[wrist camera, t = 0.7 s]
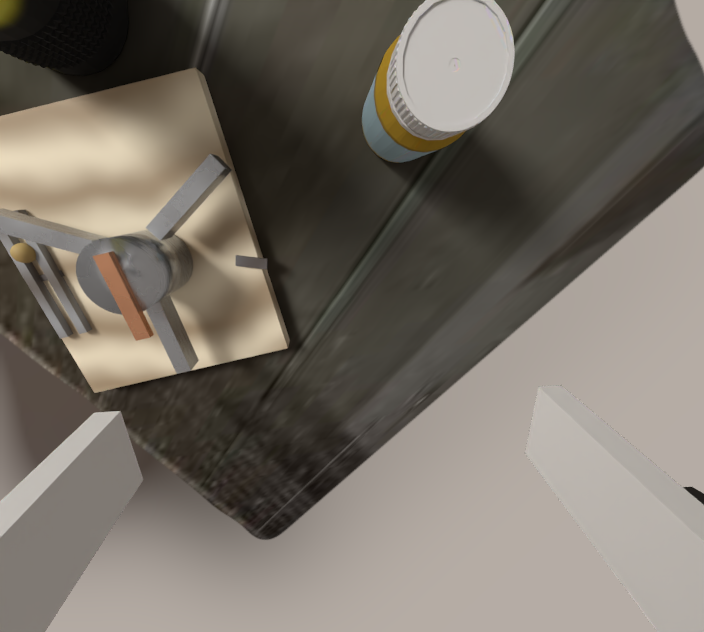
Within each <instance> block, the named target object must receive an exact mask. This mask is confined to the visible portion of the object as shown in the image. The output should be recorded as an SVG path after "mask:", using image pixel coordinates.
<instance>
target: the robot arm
mask: <svg viewBox="0 0 704 632" xmlns="http://www.w3.org/2000/svg"><path fill="white" fill-rule="evenodd" d="M525 454H526V456H527V457H528V458H529V460H530V461H531V462H532V464H533V465H534V466H535V468H536V469H537V470H538V472H539V473H540V474H541V476H542V477H543V478H544V480H545V481H546V482H547V484H548V485H549V487H550V488H551V489H552V491H553V492H554V493H555V495H556V496H557V497H558V499H559V500H560V501H561V503H562V504H563V505H564V507H565V508H566V510H567V511H568V512H569V514H570V515H571V516H572V518H573V519H574V520H575V522H576V523H577V524H578V526H579V527H580V528H581V530H582V531H583V532H584V534H585V535H586V536H587V538H588V539H589V541H590V542H591V543H592V545H593V546H594V547H595V549H596V550H597V551H598V553H599V554H600V555H601V557H602V558H603V559H604V561H605V562H606V563H607V565H608V566H609V567H610V569H611V570H612V571H613V573H614V574H615V575H616V577H617V578H618V580H619V581H620V582H621V584H622V585H623V586H624V588H625V589H626V590H627V592H628V593H629V594H630V596H631V597H632V599H633V600H634V601H635V602H636V604H637V605H638V607H639V608H640V609H641V611H642V612H643V613H644V615H645V616H646V617H647V619H648V620H649V621H650V623H651V624H652V625H653V627H654V628H655V630H656V631H657V632H704V494H703V493H702V492H700V491H698V490H696V489H695V488H693V487H682V486H681V485H679V484H678V483H677V482H676V481H675V480H674V479H672V478H671V477H670V476H669V475H667V474H666V473H665V472H664V471H663V470H661V469H660V468H659V467H658V466H657V465H656V464H654V463H653V462H652V461H651V460H649V458H647V457H646V456H645V455H644V454H643V453H641V452H640V451H639V450H638V449H637V448H635V447H634V446H633V445H632V444H631V443H629V442H628V441H627V440H626V439H625V438H624V437H622V436H621V435H620V434H619V433H618V432H616V431H615V430H614V429H613V428H612V427H610V426H609V425H608V424H607V423H606V422H605V421H603V420H602V419H601V418H600V417H599V416H597V415H596V414H595V413H594V412H593V411H591V410H590V409H589V408H588V407H587V406H585V405H584V404H583V403H582V402H581V401H580V400H578V399H577V398H576V397H575V396H574V395H572V394H571V393H570V392H569V391H568V390H567V389H565V388H564V387H563V386H561V385H556V386H539V387H538V392H537V397H536V401H535V407H534V411H533V416H532V421H531V426H530V430H529V436H528V441H527V446H526V450H525ZM142 481H143V477H142V474H141V471H140V469H139V465H138V462H137V459H136V457H135V454H134V451H133V447H132V444H131V442H130V439H129V436H128V433H127V430H126V427H125V424H124V421H123V418H122V415H121V412H120V411H115V412H98V413H94V414H92V415H91V416H90V417H89V418H88V419H87V420H86V421H85V422H84V423H83V424H82V425H81V426H80V427H79V428H78V429H77V430H76V431H74V432H73V433H72V434H71V435H70V436H69V437H68V438H67V439H66V440H65V441H64V442H63V443H62V444H61V445H60V446H58V447H57V448H56V449H55V450H54V451H53V452H52V453H51V454H50V455H49V456H48V457H47V458H46V459H45V460H44V461H43V462H42V463H40V464H39V465H38V466H37V467H36V468H35V469H34V470H33V471H32V472H31V473H30V474H29V475H28V476H27V477H26V478H25V479H24V480H22V481H21V482H20V483H19V484H18V485H17V486H16V487H15V488H14V489H13V490H12V491H11V492H10V493H9V494H8V495H7V496H6V497H4V499H2V500H1V501H0V632H45V631H46V629H47V628H48V626H49V625H50V623H51V622H52V620H53V619H54V617H55V616H56V614H57V612H58V611H59V609H60V608H61V606H62V605H63V603H64V602H65V600H66V599H67V597H68V595H69V594H70V592H71V591H72V589H73V588H74V586H75V585H76V583H77V581H78V580H79V578H80V577H81V575H82V574H83V572H84V571H85V569H86V568H87V566H88V564H89V563H90V561H91V560H92V558H93V557H94V555H95V554H96V552H97V551H98V549H99V547H100V546H101V544H102V543H103V541H104V540H105V538H106V536H107V535H108V533H109V532H110V530H111V529H112V527H113V526H114V524H115V523H116V521H117V520H118V518H119V516H120V515H121V513H122V512H123V510H124V509H125V507H126V505H127V504H128V502H129V501H130V499H131V498H132V496H133V495H134V493H135V492H136V490H137V489H138V487H139V485H140V484H141V482H142Z"/></svg>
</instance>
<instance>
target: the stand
mask: <svg viewBox="0 0 704 632" xmlns="http://www.w3.org/2000/svg"><path fill="white" fill-rule="evenodd" d="M210 153H211V154H214V155H217V156H219V157H220V158H221V159H222V160H223V161H224V162H225V163H226V164H227V165H228V166H229V167H230V168H231V169H232V171H231V172H230V173H229V174H228V175H227V176H226V177H225V179H224V180H223V181H222V182H221V183H220V184H219V185H218V186H217V187H216V189H215V190H214V191H213V192H212V193H211V194H210V195H209V196H208V197H207V198H206V200H205V201H204V202H203V203H202V204H201V205H200V206H199V207H198V208H197V210H196V211H195V212H194V213H193V214H192V215H191V216H190V217H189V218H188V220H187V221H186V222H185V223H184V224H183V225H182V226H181V227H180V228H179V230H178V231H177V232H176V233H175V234H174V235H175V236H177V237H178V238H180V239H181V240H182V241H183V242H184V243H185V245H186V246H187V247H188V249H189V251H190V253H191V256H192V259H193V272H192V275H191V277H190V279H189V281H188V282H187V283H186V284H185V285H184V286H182V287H181V288H179V289H178V290H176V291H175V292H173V293H171V294H170V297H171V299H172V301H173V304H174V306H175V308H176V310H177V313H178V315H179V317H180V319H181V321H182V324H183V326H184V328H185V330H186V333H187V335H188V337H189V339H190V342H191V344H192V346H193V348H194V351H195V353H196V355H197V357H198V360H199V361H198V362H197V363H196V365H195V366H194V367H193V369H192V370H196V369H200V368H204V367H209V366H213V365H217V364H222V363H226V362H230V361H235V360H239V359H243V358H248V357H252V356H256V355H261V354H265V353H269V352H274V351H278V350H282V349H287V348H288V346H289V342H290V339H289V336H288V333H287V330H286V327H285V324H284V321H283V318H282V314H281V311H280V308H279V305H278V302H277V299H276V296H275V293H274V290H273V287H272V284H271V280H270V277H269V274H268V271H267V264H268V259H266V258H263V256H262V253H261V249H260V246H259V243H258V240H257V237H256V234H255V231H254V228H253V225H252V222H251V219H250V215H249V212H248V209H247V206H246V203H245V200H244V197H243V194H242V191H241V188H240V185H239V181H238V178H237V175H236V172H235V169H234V166H233V163H232V160H231V157H230V154H229V151H228V147H227V144H226V141H225V138H224V135H223V132H222V129H221V126H220V123H219V120H218V116H217V113H216V110H215V107H214V104H213V101H212V98H211V95H210V92H209V89H208V86H207V82H206V79H205V76H204V75H203V74H202V73H201V72H200V71H199V70H198V69H197V68H196V67H195V68H191V69H187V70H183V71H179V72H175V73H171V74H167V75H163V76H159V77H155V78H151V79H147V80H143V81H139V82H135V83H131V84H127V85H123V86H119V87H115V88H111V89H107V90H103V91H99V92H95V93H91V94H87V95H83V96H79V97H75V98H71V99H67V100H63V101H59V102H55V103H51V104H47V105H43V106H39V107H35V108H31V109H27V110H23V111H19V112H15V113H11V114H7V115H3V116H0V209H3V208H4V209H7V210H11V211H14V212H18V213H22V214H25V215H29V216H32V217H36V218H40V219H43V220H47V221H50V222H54V223H58V224H61V225H65V226H68V227H72V228H76V229H79V230H83V231H86V232H90V233H94V234H97V235H101V236H105V237H108V238H110V237H114V236H119V235H124V234H129V233H134V232H138V231H143V230H148V229H146V227H147V225H148V224H149V223H150V222H151V221H152V220H153V219H154V217H155V216H156V215H157V214H158V213H159V212H160V211H161V209H162V208H163V207H164V206H165V205H166V204H167V203H168V201H169V200H170V199H171V198H172V197H173V196H174V194H175V193H176V192H177V191H178V190H179V189H180V188H181V186H182V185H183V184H184V183H185V182H186V181H187V180H188V178H189V177H190V176H191V175H192V174H193V173H194V172H195V170H196V169H197V168H198V167H199V166H200V165H201V164H202V162H203V161H204V160H205V159H206V158H207V157H208V155H209V154H210ZM0 240H1V241H2V243H3V245H4V246H5V248H6V250H7V251H8V253H9V255H10V256H11V258H12V260H13V261H14V263H15V264H16V266H17V268H18V269H19V271H20V273H21V274H22V276H23V278H24V279H25V281H26V283H27V284H28V286H29V288H30V289H31V291H32V293H33V294H34V296H35V298H36V299H37V301H38V303H39V304H40V306H41V307H42V309H43V311H44V312H45V314H46V316H47V317H48V319H49V321H50V322H51V324H52V326H53V327H54V329H55V331H56V332H57V334H58V336H59V337H60V339H61V338H62V340H63V341H64V343H65V345H66V346H67V348H68V350H69V351H70V353H71V355H72V356H73V358H74V360H75V361H76V363H77V365H78V366H79V368H80V370H81V371H82V373H83V375H84V376H85V378H86V380H87V381H88V383H89V385H90V386H91V388H92V389H93V391H94V393H96V392H100V391H105V390H109V389H113V388H118V387H122V386H126V385H131V384H135V383H139V382H144V381H148V380H152V379H157V378H161V377H165V376H170V375H174V374H177V373H176V371H175V369H174V367H173V365H172V363H171V361H170V359H169V357H168V355H167V353H166V350H165V348H164V346H163V344H162V342H161V340H160V338H159V336H158V334H157V332H156V330H155V328H154V326H153V323H152V321H151V319H150V317H149V315H148V313H147V311H146V310H145V311H143V313H144V315H145V317H146V319H147V321H148V323H149V325H150V327H151V329H152V331H153V334H154V335H153V336H152V337H150V338H146V339H142V340H138V341H136V340H135V338H134V336H133V334H132V332H131V330H130V328H129V326H128V324H127V323H126V321H125V319H124V317H123V315H120V314H115V313H112V312H109V311H106V310H104V309H102V308H101V307H99V306H98V305H96V304H95V303H94V302H92V301H91V300H90V299H89V298H88V297H87V295H86V294H85V293H84V292H83V290H82V288H81V287H80V284H79V282H78V279H77V275H76V262H77V258H78V256H79V254H77V253H74V252H70V251H66V250H62V249H59V248H55V247H51V246H47V245H44V244H40V243H36V242H32V241H28V240H25V239H21V238H17V237H13V236H10V235H6V234H2V233H0ZM182 373H183V372H182Z"/></svg>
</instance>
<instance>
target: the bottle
mask: <svg viewBox="0 0 704 632" xmlns="http://www.w3.org/2000/svg"><path fill="white" fill-rule="evenodd" d="M513 65H514V41H513V35H512V31H511V28H510V25H509V22H508V20H507V18H506V16H505V14H504V12H503V11H502V9H501V8H500V7H499V6H498V4H497V3H496V2H495V1H494V0H426V1H425V2H424V3H423V4H422V5H420V6H419V7H418V9H417V10H416V11H414V13H413V14H412V17H410V18H409V20H408V22H407V24H406V25H405V27H404V29H403V31H402V33H401V35H400V36H399V37H397V38H396V40H395V41H394V42H393V43H392V45H391V46H390V47H389V48H388V50H387V51H386V53H385V55H384V57H383V58H382V61H381V63H380V66H379V68H378V71H377V73H376V76H375V78H374V81H373V83H372V86H371V88H370V91H369V94H368V96H367V99H366V101H365V104H364V107H363V114H362V128H363V134H364V137H365V139H366V141H367V143H368V145H369V147H370V148H371V149H372V151H373V152H374V153H375V154H376V155H377V156H379V157H380V158H382V159H384V160H386V161H389V162H396V163H402V162H407V161H411V160H414V159H416V158H419V157H421V156H424V155H427V154H429V153H432V152H435V151H437V150H440V149H442V148H444V147H446V146H448V145H449V144H451V143H453V142H454V141H456V140H457V139H459V138H460V137H461V136H462V135H463V133H464V132H465V131H466V130H469V129H471V128H473V127H475V125H477V124H479V123H481V121H483V120H485V119H486V117H487V116H488V115H490V114H491V112H492V111H493V110H494V109H495V108H496V106H497V105H498V103H499V102H500V100H501V99H502V97H503V95H504V94H505V92H506V89H507V87H508V85H509V82H510V79H511V75H512V71H513Z"/></svg>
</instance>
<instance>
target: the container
mask: <svg viewBox="0 0 704 632" xmlns="http://www.w3.org/2000/svg"><path fill="white" fill-rule="evenodd" d="M128 23H129V21H128V7H127V0H0V51H3V52H4V53H6V54H10V55H11V56H13V57H17V58H18V59H20V60H24V61H25V62H27V63H32V64H33V65H35V66H37V65H40V66H41V67H42V68H45V67H48V68H50V69H53V70H56V71H58V72H61V73H64V74H69V75H83V76H86V75H89V74H93V73H96V72H100V71H101V70H103V69H104V68H106V67H108V66H109V65H111V64H112V62H113V61H114V60H115V59H116V57H117V56H118V55H119V54H120V53H121V50H122V47H123V45H124V42H125V40H126V37H127V30H128Z"/></svg>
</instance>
